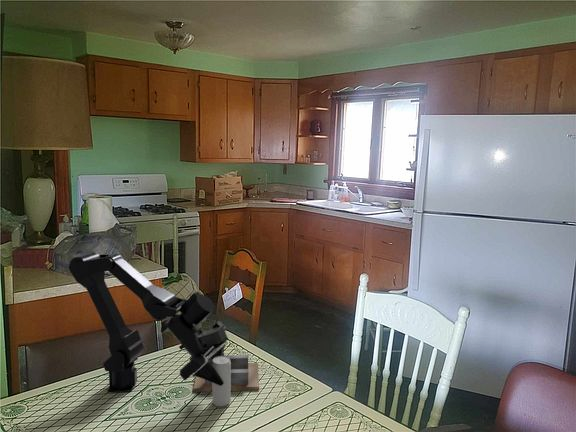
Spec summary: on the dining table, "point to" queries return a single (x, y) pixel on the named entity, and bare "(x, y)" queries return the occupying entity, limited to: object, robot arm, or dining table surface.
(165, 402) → the dining table surface
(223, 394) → the beverage can
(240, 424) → the dining table surface
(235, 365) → the vise
